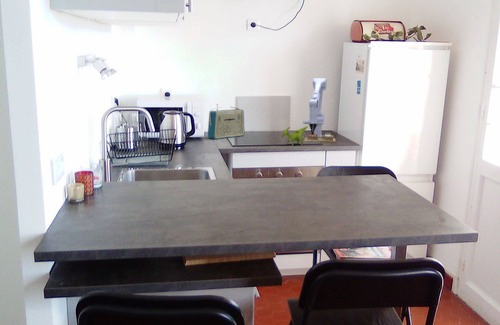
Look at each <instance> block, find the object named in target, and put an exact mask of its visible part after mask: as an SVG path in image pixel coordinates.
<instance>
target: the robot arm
mask: <svg viewBox="0 0 500 325" xmlns="http://www.w3.org/2000/svg"><path fill="white" fill-rule="evenodd" d="M327 81H328V80H327V78H326V77H325V78H324V77H314V78H313V79H312V86H313V90H314V91H313V92H311V98H310V99H309V103H308V106H309V107H308V108H309V117H308V118H309V120H308V121H307V120H304V121H302V125H308V127H309V128H310V131H311V132H310V134H313V135H314V134H316V135H318V138H322V135H323V134H322V129H323V128H322V127H323V126H324V123H325V114H324V113H323V112H322V107H323V106H322V103H323V94H324V91H325V90H326V89H327Z"/></svg>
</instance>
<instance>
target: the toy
mask: <svg viewBox="0 0 500 325" xmlns="http://www.w3.org/2000/svg"><path fill="white" fill-rule="evenodd" d="M308 127H309V125H307V126H304V127H302V128H300V129H298V130H295V131H293V132H292V133H290V134H289V131H288V130H289V129H291V127H288V128H286V129H285V130H284V131H283V132H282V134H281V135H280V136H281V137H282V138H283V137H284V136H285V137H286V138H287V139H288V142H287V144H290V143H292V144H291V146H294V144H295V142H296V144H299V143H301V144H300V146H303V145H304V143H305V142H304V140H302V139H303V135H304V132H305V131H306V130H307V129H308Z"/></svg>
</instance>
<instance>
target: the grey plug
mask: <svg viewBox="0 0 500 325" xmlns="http://www.w3.org/2000/svg"><path fill="white" fill-rule="evenodd" d="M324 135H325V137H331V135H332V133H330V132H325V133H324Z"/></svg>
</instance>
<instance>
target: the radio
mask: <svg viewBox="0 0 500 325" xmlns="http://www.w3.org/2000/svg"><path fill="white" fill-rule="evenodd" d="M218 105H219V104H218V103H216V110H214V108H212V109H211V110H209V114H208V124H207V137H208V138H209V139H212V140H223V139H230V138H239V137H240V138H241V137H244V136H245V133H246V131H245V112H244V109H242V108H241V109H240V108H238V107H234V106H231V108H232V109H222V110H218V108H219V109H220V108H221V106H220V107H218Z"/></svg>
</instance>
